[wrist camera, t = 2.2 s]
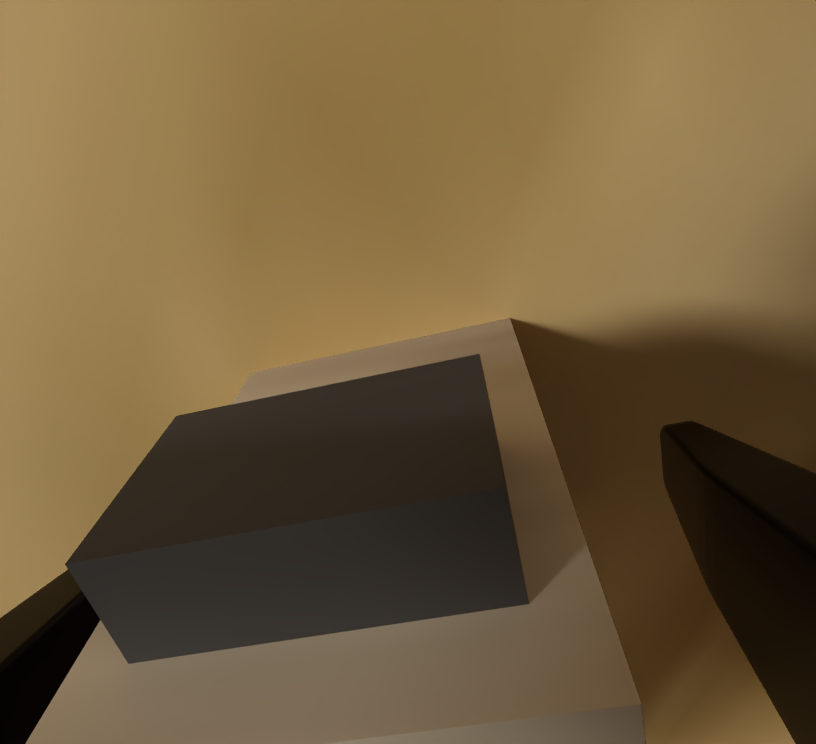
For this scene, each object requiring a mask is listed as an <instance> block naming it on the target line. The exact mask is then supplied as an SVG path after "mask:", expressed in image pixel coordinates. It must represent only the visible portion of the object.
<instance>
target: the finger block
mask: <svg viewBox="0 0 816 744" xmlns="http://www.w3.org/2000/svg"><path fill="white" fill-rule="evenodd" d="M65 565H66V566H67V568H68V570H69V571H70V573H71V574H72V576H73V577H74V579H75V581H76V582H77V584H78V585H79V587H80V589H81V590H82V592H83V593H84V595H85V596H86V598H87V600H88V601H89V603H90V604H91V606H92V607H93V609H94V611H95V612H96V614H97V615H98V617H99V618H100V622H99V623H98V625H97V627H96V628H95V630H94V631H93V633H92V635H91V636H90V638H89V640H88V641H87V643H86V645H85V646H84V648H83V650H82V651H81V653H80V655H79V656H78V658H77V659H76V661H75V663H74V664H73V666H72V668H71V669H70V671H69V673H68V674H67V676H66V678H65V679H64V681H63V683H62V684H61V686H60V687H59V689H58V691H57V692H56V694H55V696H54V697H53V699H52V701H51V702H50V704H49V706H48V707H47V709H46V711H45V712H44V714H43V715H42V717H41V719H40V720H39V722H38V724H37V725H36V727H35V729H34V730H33V732H32V734H31V735H30V737H29V739H28V740H27V742H26V744H646V740H645V731H644V722H643V713H642V705H641V701H640V698H639V695H638V693H637V690H636V687H635V684H634V681H633V678H632V675H631V672H630V669H629V666H628V663H627V660H626V657H625V654H624V651H623V649H622V646H621V643H620V640H619V637H618V634H617V631H616V628H615V625H614V622H613V619H612V616H611V613H610V610H609V607H608V605H607V602H606V599H605V596H604V593H603V590H602V587H601V584H600V581H599V578H598V575H597V572H596V569H595V566H594V563H593V561H592V558H591V555H590V552H589V549H588V546H587V543H586V540H585V537H584V534H583V531H582V528H581V525H580V522H579V519H578V517H577V514H576V511H575V508H574V505H573V502H572V499H571V496H570V493H569V490H568V487H567V484H566V481H565V478H564V475H563V473H562V470H561V467H560V464H559V461H558V458H557V455H556V452H555V449H554V446H553V443H552V440H551V437H550V434H549V431H548V429H547V426H546V423H545V420H544V417H543V414H542V411H541V408H540V405H539V402H538V399H537V396H536V393H535V390H534V387H533V385H532V382H531V379H530V376H529V373H528V370H527V367H526V364H525V361H524V358H523V355H522V352H521V349H520V346H519V343H518V341H517V338H516V335H515V332H514V329H513V326H512V323H511V320H510V318H508V319H503V320H499V321H494V322H489V323H484V324H480V325H475V326H470V327H466V328H461V329H456V330H451V331H447V332H442V333H437V334H433V335H428V336H423V337H418V338H414V339H409V340H404V341H399V342H395V343H390V344H385V345H381V346H376V347H371V348H366V349H362V350H357V351H352V352H348V353H343V354H338V355H333V356H329V357H324V358H319V359H314V360H310V361H305V362H300V363H296V364H291V365H286V366H281V367H277V368H272V369H267V370H263V371H258V372H253V373H250V374H249V376H248V378H247V379H246V381H245V383H244V384H243V386H242V388H241V389H240V391H239V393H238V394H237V396H236V398H235V399H234V401H233V402H232V404H231V405H227V406H222V407H218V408H213V409H208V410H203V411H198V412H193V413H188V414H184V415H179V416H176V417H175V418H174V420H173V421H172V422H171V424H170V425H169V426H168V428H167V429H166V430H165V432H164V433H163V434H162V436H161V437H160V438H159V440H158V441H157V442H156V444H155V445H154V446H153V448H152V449H151V450H150V452H149V453H148V454H147V456H146V457H145V458H144V460H143V461H142V462H141V464H140V465H139V466H138V468H137V469H136V470H135V472H134V473H133V474H132V476H131V477H130V478H129V480H128V481H127V482H126V484H125V485H124V486H123V488H122V489H121V490H120V492H119V493H118V494H117V496H116V497H115V498H114V500H113V501H112V502H111V504H110V505H109V506H108V508H107V509H106V510H105V512H104V513H103V514H102V516H101V517H100V518H99V520H98V521H97V522H96V524H95V525H94V526H93V528H92V529H91V530H90V532H89V533H88V534H87V536H86V537H85V538H84V540H83V541H82V542H81V544H80V545H79V546H78V548H77V549H76V550H75V552H74V553H73V554H72V556H71V557H70V558H69V560H68V561H67V562H66V564H65Z"/></svg>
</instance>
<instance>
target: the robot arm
mask: <svg viewBox="0 0 816 744" xmlns="http://www.w3.org/2000/svg"><path fill="white" fill-rule="evenodd" d="M660 441H661V454H662V468H663V478H664V483H665V486H666V490H667V492H668V495H669V497H670V500H671V502H672V504H673V507H674V509H675V512H676V514H677V516H678V519H679V521H680V523H681V526H682V528H683V531H684V533H685V535H686V538H687V540H688V543H689V545H690V547H691V550H692V552H693V555H694V557H695V559H696V562H697V564H698V566H699V569H700V571H701V573H702V576H703V578H704V580H705V583H706V585H707V587H708V589H709V591H710V593H711V595H712V596H713V598H714V600H715V602H716V604H717V606H718V608H719V609H720V611H721V613H722V615H723V616H724V618H725V620H726V622H727V623H728V625H729V627H730V629H731V630H732V632H733V634H734V636H735V638H736V639H737V641H738V643H739V645H740V646H741V648H742V650H743V652H744V653H745V655H746V657H747V659H748V660H749V662H750V664H751V666H752V668H753V669H754V671H755V673H756V675H757V676H758V678H759V680H760V682H761V683H762V685H763V687H764V689H765V690H766V692H767V694H768V696H769V698H770V699H771V701H772V703H773V705H774V706H775V708H776V710H777V712H778V713H779V715H780V717H781V719H782V720H783V722H784V724H785V726H786V728H787V729H788V731H789V733H790V735H791V736H792V738H793V740H794V742H795V743H796V744H816V473H813V472H811V471H809V470H806V469H804V468H802V467H799V466H797V465H795V464H792V463H790V462H788V461H785V460H783V459H781V458H778V457H776V456H774V455H771V454H769V453H767V452H764V451H762V450H760V449H757V448H755V447H753V446H751V445H748V444H746V443H744V442H741V441H739V440H737V439H734V438H732V437H730V436H727V435H725V434H723V433H720V432H718V431H716V430H713V429H711V428H709V427H706V426H704V425H702V424H699V423H697V422H694V421H685V422H680V423H675V424H669V425H665V426H663V427H662V429H661V433H660ZM99 622H100V618H99V617H98V615H97V614H96V612H95V611H94V609H93V607H92V606H91V604H90V603H89V601H88V600H87V598H86V596H85V595H84V593H83V592H82V590H81V589H80V587H79V585H78V584H77V582H76V581H75V579H74V577H73V576H72V574H71V573H70V571H69V570H67V571H65V572H64V573H62V574H61V575H60V576H58V577H57V578H55V579H54V580H53V581H51V582H50V583H49V584H47V585H46V586H44V587H43V588H42V589H40V590H39V591H37V592H36V593H35V594H33V595H32V596H30V597H29V598H28V599H26V600H25V601H23V602H22V603H21V604H19V605H18V606H17V607H15V608H14V609H12V610H11V611H10V612H8V613H7V614H5V615H4V616H3V617H1V618H0V744H26V742H27V740H28V739H29V737H30V735H31V734H32V732H33V730H34V729H35V727H36V725H37V724H38V722H39V720H40V719H41V717H42V715H43V714H44V712H45V711H46V709H47V707H48V706H49V704H50V702H51V701H52V699H53V697H54V696H55V694H56V692H57V691H58V689H59V687H60V686H61V684H62V683H63V681H64V679H65V678H66V676H67V674H68V673H69V671H70V669H71V668H72V666H73V664H74V663H75V661H76V659H77V658H78V656H79V655H80V653H81V651H82V650H83V648H84V646H85V645H86V643H87V641H88V640H89V638H90V636H91V635H92V633H93V631H94V630H95V628H96V627H97V625H98V623H99Z"/></svg>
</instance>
